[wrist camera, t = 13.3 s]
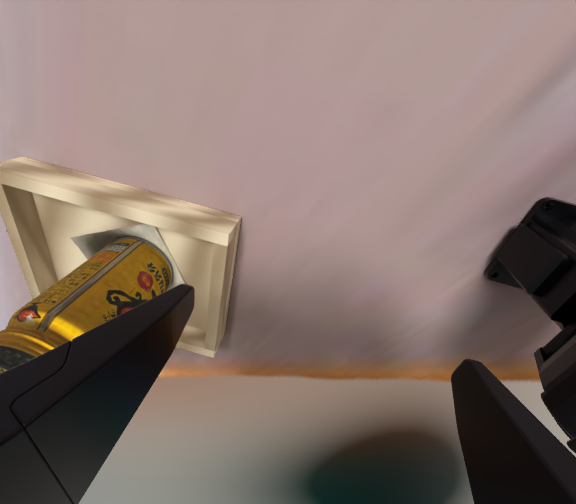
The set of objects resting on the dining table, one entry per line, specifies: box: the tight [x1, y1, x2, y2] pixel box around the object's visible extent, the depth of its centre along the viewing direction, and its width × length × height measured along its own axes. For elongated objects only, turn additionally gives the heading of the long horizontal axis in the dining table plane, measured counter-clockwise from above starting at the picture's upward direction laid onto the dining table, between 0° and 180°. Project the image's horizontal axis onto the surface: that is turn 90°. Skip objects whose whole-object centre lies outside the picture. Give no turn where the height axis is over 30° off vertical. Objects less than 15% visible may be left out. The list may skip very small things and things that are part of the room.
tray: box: [0, 157, 242, 358], centre depth 25 cm, size 18×14×3 cm
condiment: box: [0, 224, 185, 373], centre depth 20 cm, size 7×8×12 cm
